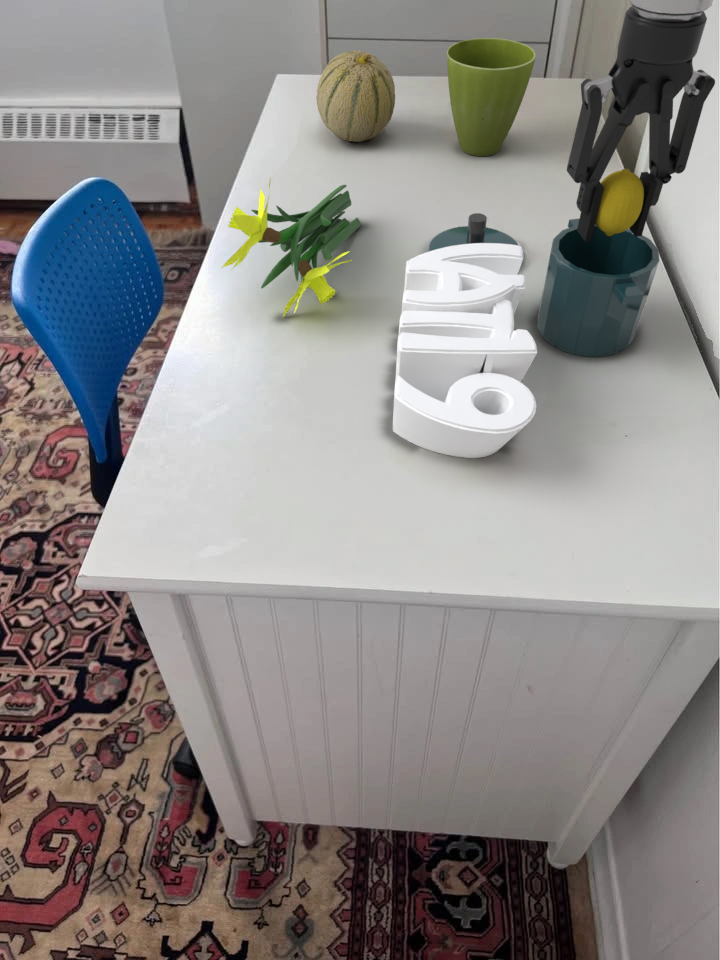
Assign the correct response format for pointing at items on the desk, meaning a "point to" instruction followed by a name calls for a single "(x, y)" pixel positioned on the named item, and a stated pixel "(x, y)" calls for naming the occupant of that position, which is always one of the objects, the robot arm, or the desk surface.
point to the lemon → (620, 202)
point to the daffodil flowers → (312, 223)
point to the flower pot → (487, 90)
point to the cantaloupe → (356, 96)
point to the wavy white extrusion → (463, 351)
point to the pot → (595, 290)
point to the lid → (470, 234)
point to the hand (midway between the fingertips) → (609, 232)
